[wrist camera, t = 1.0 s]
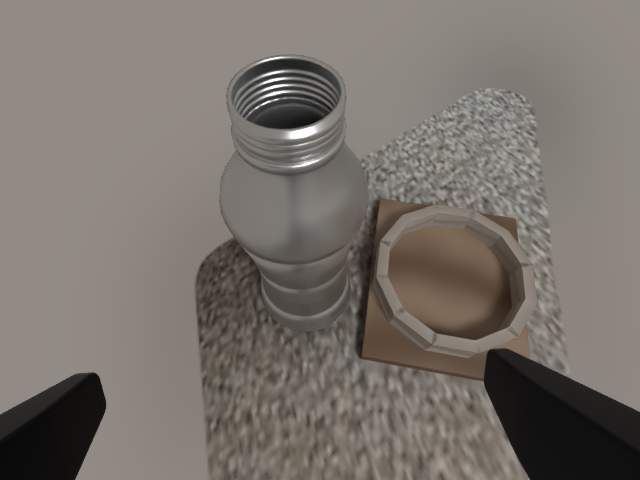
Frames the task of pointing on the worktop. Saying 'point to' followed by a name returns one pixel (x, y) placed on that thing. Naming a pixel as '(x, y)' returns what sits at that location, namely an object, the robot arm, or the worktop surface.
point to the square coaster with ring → (446, 289)
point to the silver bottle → (294, 186)
